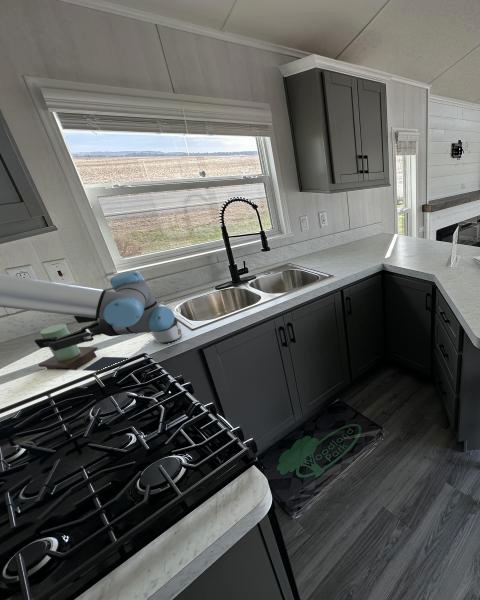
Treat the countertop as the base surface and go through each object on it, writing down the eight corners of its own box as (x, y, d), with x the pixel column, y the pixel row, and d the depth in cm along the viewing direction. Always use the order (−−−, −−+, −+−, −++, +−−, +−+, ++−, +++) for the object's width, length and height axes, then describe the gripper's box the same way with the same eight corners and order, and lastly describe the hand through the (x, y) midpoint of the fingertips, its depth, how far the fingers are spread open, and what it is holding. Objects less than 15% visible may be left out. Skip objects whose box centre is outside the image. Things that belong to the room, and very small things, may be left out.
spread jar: (175, 345, 138) (165, 320, 133) (146, 348, 136) (135, 324, 131) (187, 330, 148) (179, 307, 143) (160, 333, 147) (151, 310, 142)
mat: (102, 379, 118) (102, 378, 118) (70, 378, 119) (70, 377, 119) (132, 358, 130) (132, 357, 129) (103, 357, 131) (102, 356, 131)
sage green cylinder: (67, 361, 123) (51, 333, 117) (51, 360, 123) (34, 333, 118) (85, 350, 129) (71, 324, 124) (69, 350, 130) (54, 323, 125)
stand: (71, 374, 122) (66, 365, 120) (43, 373, 123) (38, 364, 121) (101, 355, 133) (96, 347, 131) (75, 354, 134) (70, 346, 132)
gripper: (96, 358, 94) (28, 365, 95) (153, 312, 115) (96, 319, 117) (80, 336, 90) (9, 345, 91) (142, 294, 112) (84, 301, 113)
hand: (58, 330), depth 104 cm, fingers open, 13 cm apart
